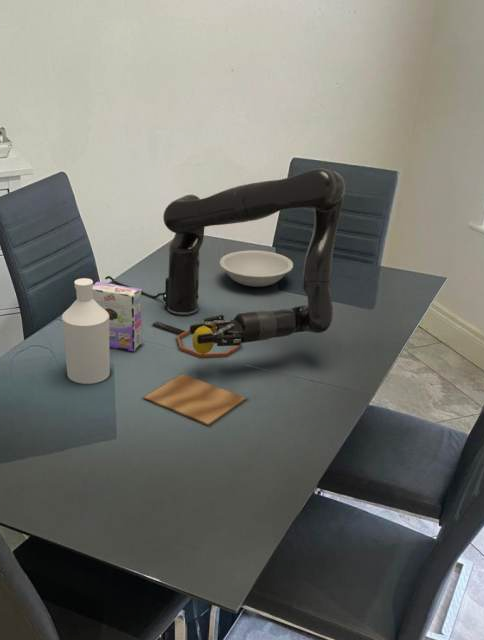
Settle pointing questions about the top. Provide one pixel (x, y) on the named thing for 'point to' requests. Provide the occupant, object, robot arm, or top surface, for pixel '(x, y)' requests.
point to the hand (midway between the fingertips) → (194, 334)
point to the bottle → (86, 337)
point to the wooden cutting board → (195, 399)
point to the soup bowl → (256, 267)
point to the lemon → (205, 346)
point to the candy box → (121, 314)
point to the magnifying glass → (181, 334)
